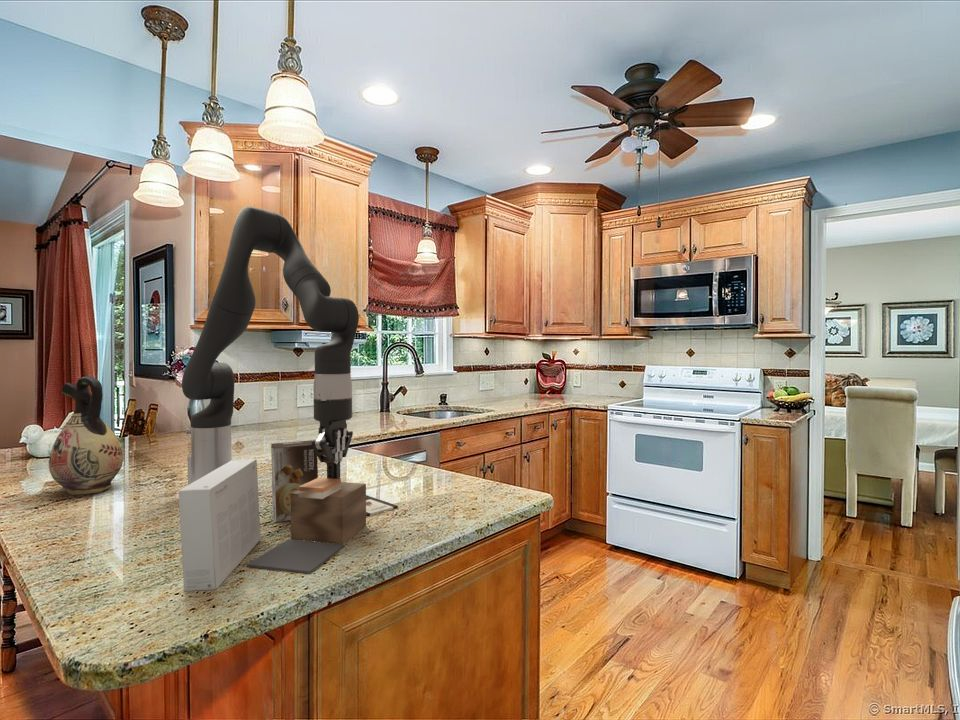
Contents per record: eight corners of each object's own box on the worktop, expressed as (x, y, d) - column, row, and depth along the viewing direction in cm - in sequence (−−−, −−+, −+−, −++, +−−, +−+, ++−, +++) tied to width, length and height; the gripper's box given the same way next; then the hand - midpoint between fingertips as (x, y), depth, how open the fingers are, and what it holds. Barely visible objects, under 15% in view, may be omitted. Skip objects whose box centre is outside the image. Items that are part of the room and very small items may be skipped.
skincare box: (232, 541, 101) (231, 459, 100) (261, 540, 101) (260, 458, 101) (178, 592, 80) (177, 488, 79) (215, 591, 80) (214, 488, 80)
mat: (246, 566, 89) (246, 564, 89) (288, 541, 100) (288, 539, 100) (309, 573, 86) (309, 571, 86) (345, 546, 98) (345, 544, 98)
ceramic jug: (34, 495, 131) (32, 376, 131) (99, 480, 146) (97, 373, 145) (78, 503, 125) (75, 377, 124) (141, 487, 139) (139, 374, 138)
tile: (298, 497, 99) (298, 486, 99) (318, 487, 105) (318, 477, 105) (322, 498, 97) (322, 488, 97) (340, 489, 104) (340, 479, 104)
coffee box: (314, 508, 121) (313, 439, 120) (319, 516, 115) (318, 444, 115) (271, 514, 117) (270, 442, 116) (274, 523, 111) (274, 447, 110)
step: (291, 539, 101) (290, 493, 101) (318, 522, 111) (318, 480, 111) (342, 544, 99) (342, 497, 99) (366, 526, 109) (365, 483, 108)
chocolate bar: (354, 491, 134) (397, 505, 121) (354, 494, 134) (397, 509, 121) (322, 498, 127) (365, 514, 115) (322, 502, 127) (365, 518, 115)
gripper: (332, 393, 113) (333, 472, 113) (297, 398, 100) (298, 488, 100) (364, 393, 111) (365, 474, 112) (333, 399, 98) (334, 491, 99)
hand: (333, 481), depth 106 cm, fingers closed
